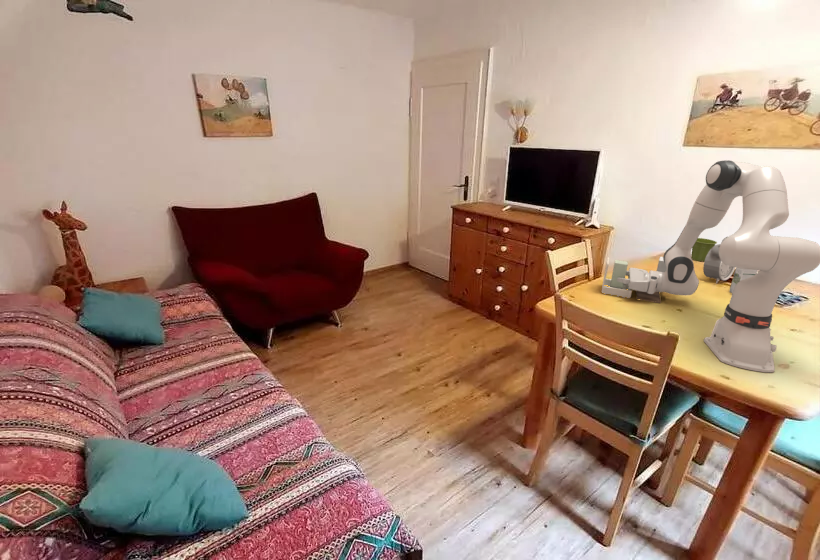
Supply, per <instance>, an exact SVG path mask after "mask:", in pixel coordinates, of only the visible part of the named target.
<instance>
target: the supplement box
mask: <svg viewBox="0 0 820 560" xmlns="http://www.w3.org/2000/svg"><path fill="white" fill-rule="evenodd" d="M656 271H659V272H666V265H665V263H664V260H663V256H659V259H658V263H657V268H656Z"/></svg>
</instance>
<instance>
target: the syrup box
mask: <svg viewBox="0 0 820 560" xmlns="http://www.w3.org/2000/svg"><path fill="white" fill-rule="evenodd" d="M757 273H758V270H750V269H740V268H736V267H735V270H734V272H733V277H732V281H731V283H730V287H729V289H728V291H729V293H730V294H732V293H733V290H734V287H735V285H736V284H737V283H738V282H739V281H741V280H744V279H747V278H750V277H752V276H754V275H755V274H757Z"/></svg>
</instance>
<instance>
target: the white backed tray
mask: <svg viewBox="0 0 820 560" xmlns="http://www.w3.org/2000/svg"><path fill="white" fill-rule="evenodd" d="M609 265H610V257H609V256H608V257H607V259H606V265H605V269H604V274H603V281H602V285H601V286H602V287H601V292H602V293H605V294H604V295H606V294H611V295H610V296H612V295H617V296H616V297H619V296H622V297H621V298H625V297H627V298H626V299H630V298H631V297H632V292H633V290H632V289H630V288H629V286H628V284H624V285H623V289H619V288H613V287H607V286H604V285H608V286H610V283H611V278H607V274H608V269H609ZM626 289H628V290H626Z"/></svg>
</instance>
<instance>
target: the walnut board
mask: <svg viewBox="0 0 820 560" xmlns="http://www.w3.org/2000/svg"><path fill="white" fill-rule="evenodd" d="M635 293H636V294H635V295H637V297H636V300H637V299H640V300H639V301H643V300H645V301H644V302H650V303H651V302H652V303H655V304H656V303H657V304H661V303H662V299H661V295H660V292H654V293H653V294H648V293H647V292H642V291H637V290H635Z"/></svg>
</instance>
